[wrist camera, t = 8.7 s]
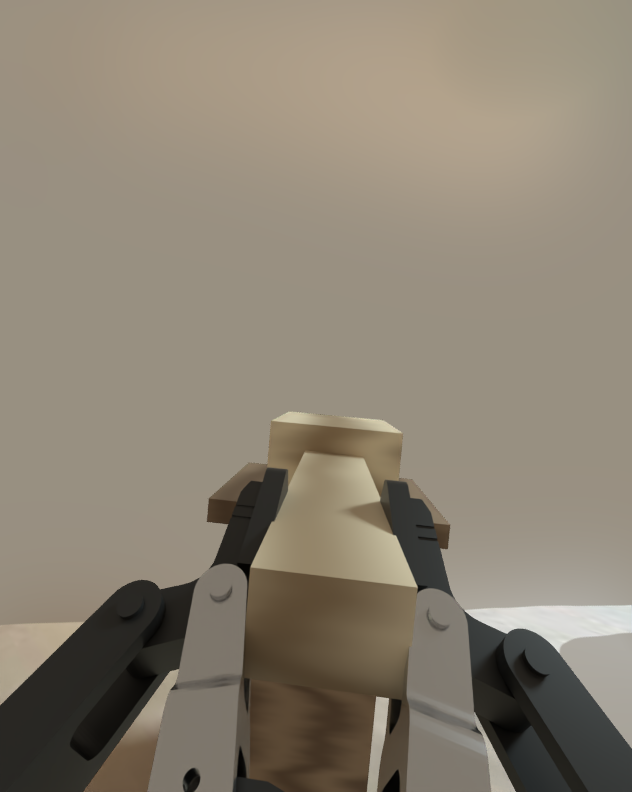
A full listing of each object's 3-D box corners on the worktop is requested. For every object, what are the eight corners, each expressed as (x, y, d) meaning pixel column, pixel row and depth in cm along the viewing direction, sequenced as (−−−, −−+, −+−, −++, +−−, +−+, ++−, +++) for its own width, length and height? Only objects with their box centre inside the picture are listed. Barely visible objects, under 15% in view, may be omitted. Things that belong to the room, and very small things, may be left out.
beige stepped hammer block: (378, 467, 28) (383, 420, 28) (518, 716, 7) (538, 522, 7) (285, 457, 28) (289, 411, 28) (139, 663, 7) (152, 481, 7)
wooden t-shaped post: (386, 733, 40) (411, 479, 39) (410, 897, 28) (450, 525, 26) (228, 710, 42) (249, 462, 40) (180, 858, 29) (208, 498, 27)
